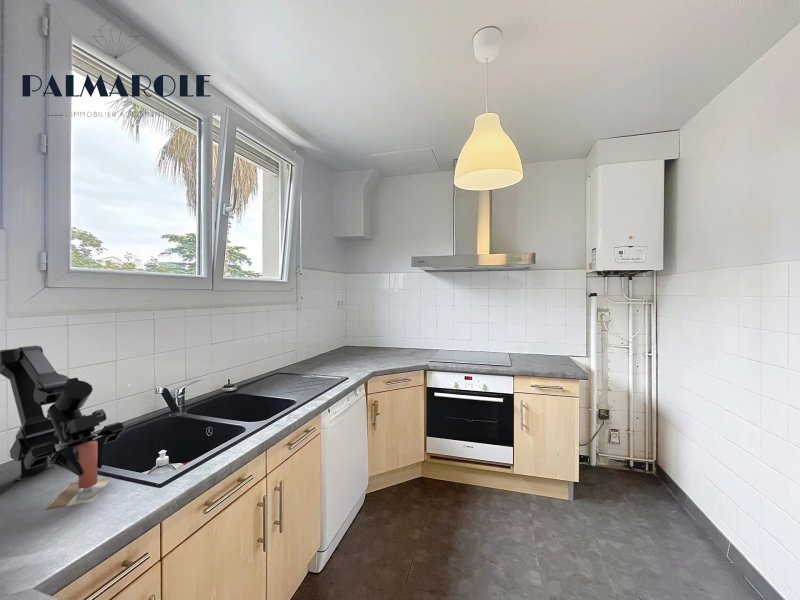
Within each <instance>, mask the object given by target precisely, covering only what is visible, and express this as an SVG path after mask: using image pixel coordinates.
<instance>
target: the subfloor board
mask: <svg viewBox="0 0 800 600" xmlns="http://www.w3.org/2000/svg"><path fill="white" fill-rule="evenodd" d="M111 479H112V476H109V477H103V478H98V480H97V484H95V485H93V486H97V487H98V488H99V489H98V494H97V495H96V496H94V497H92V498H89V499H86V500H78V499H77V493H78V492H79V491H80V490H82V489H84V488H78V481H75V482H70V483H69V484H68V485H66V487H65V488H64V489H63V490H62V491H61V492H60V493H59V494H58V495H57V497H55V498H54V499H53V501H51V503H49V505H48V506H46V508H45V509H44V510H45V511H47V510H52V509H57V508H63V507H68V506H74V505H80V504H85V503H90V502H91V503H93V502H94V501H95V500H96V498H97V497H98V495H99V494H100V493H101V492H102V490H103V489H104V488H105V486H106V485H107V484H108V483H109V481H110V480H111Z"/></svg>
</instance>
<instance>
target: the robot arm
mask: <svg viewBox="0 0 800 600" xmlns="http://www.w3.org/2000/svg"><path fill="white" fill-rule="evenodd" d="M0 375H1V376H3V377H5V378H7V379H8V380H9V381H10V382H9V383H10V387H11V390H12V393H13V397H14V401H15V405H16V409H17V412H18V417H19V420H20V424H21V425H20V427H19V429H18V431H17V433H16V435H15V441H14V442H13V444H12V446H11V448H10V449H9V454H10V455H9V457H10V458H11V460H12V459H13V460H14V461H16V462H20V463H19V464H20V465H19V468H20V470H19V471H20V474H19V475H18V476H16V477H15V478H14V479H13V480H12V482H13V483H16V482H20V481H21V480H22V479H24V478H26V477H27V478H28V477H33V476H36V475H38V474H40V473H43V472H45V471H50V470H54V469H55V468H56V466H59V467H61V468H64V469H66V470H68V471H69V472H71V473H73V474H75V475H76V476H82V474H83V472H82V469H81V467H80V465H79V463H78V459H77V458H76V455H75V454H74V452H75V451H74V449H75V448H78V446H79V445H80V444H82V443H85V442H89V441H97V442H98V470H100V469H102V467H103V451H104V445H107V444H109V443H112V442H115V441H117V440H118V439H119V438H120V436H121V435H122V434H123V433H124V431H125V430H126V427H125V425H124V424H123V422H119V421H118V422H115V423H110V424H107V425H104V426H103V428H102V429H101V431H99V432H97V433H93V432H95V430H96V428H95V427H99V426H101V424H100V423H103V422H105V421H106V420H107V414H106V412H105V410H104V409H103V408H101V409H98V410H94V411H92V413H91V414H88V415H85V414H83V413H82V411H81V410H80V409H81V408H83V407H84V406H85V403H86V402H87V400H88V398H89V397H90V396H91V394H92V392H93V385H91V384H90V383H88V382H87V381H84V380H79V378H78V377H72V378H70V377H68V376H67V375H64V374H60V373H59V372H57V371H56V369H55V368H54V367H53V365H52V364H51V362H50V361H49V360H48V359H47V357H46V356H45V354H44V350H43V347H42V346H41V345H39V346H38V345H30V346H28V345H27V346H19V347H17V348H8V349H0ZM50 404H51V405H50ZM46 405H50V406H49V407H48V409H47V411H46V412H47V413H46V416H45V414H44V410H43V406H46ZM92 433H93V434H92Z"/></svg>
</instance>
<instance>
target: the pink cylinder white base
mask: <svg viewBox="0 0 800 600" xmlns="http://www.w3.org/2000/svg"><path fill="white" fill-rule="evenodd" d="M77 449H78V450H77V451H78V457H77V458H78V459H77V461H78V463H79V465H80V467H81V469H82V472H83V474H82V476H78V475H77V476H78V481H77V482H78V488H84V489H82V490H80V491H79V492H78V493H77V499H78V500H86V499H89V498H92V497H94V496H96V495H97V494H98V489H99V488H98V487H97V486H93V485H95V484H97V480H98V479H99V478H98V477H99V476H98V473H99V472H98V471H99V469H98V442H97V441H89V442H85V443H82V444H80V445H79V446H78V447H77ZM98 495H99V494H98Z"/></svg>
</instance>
